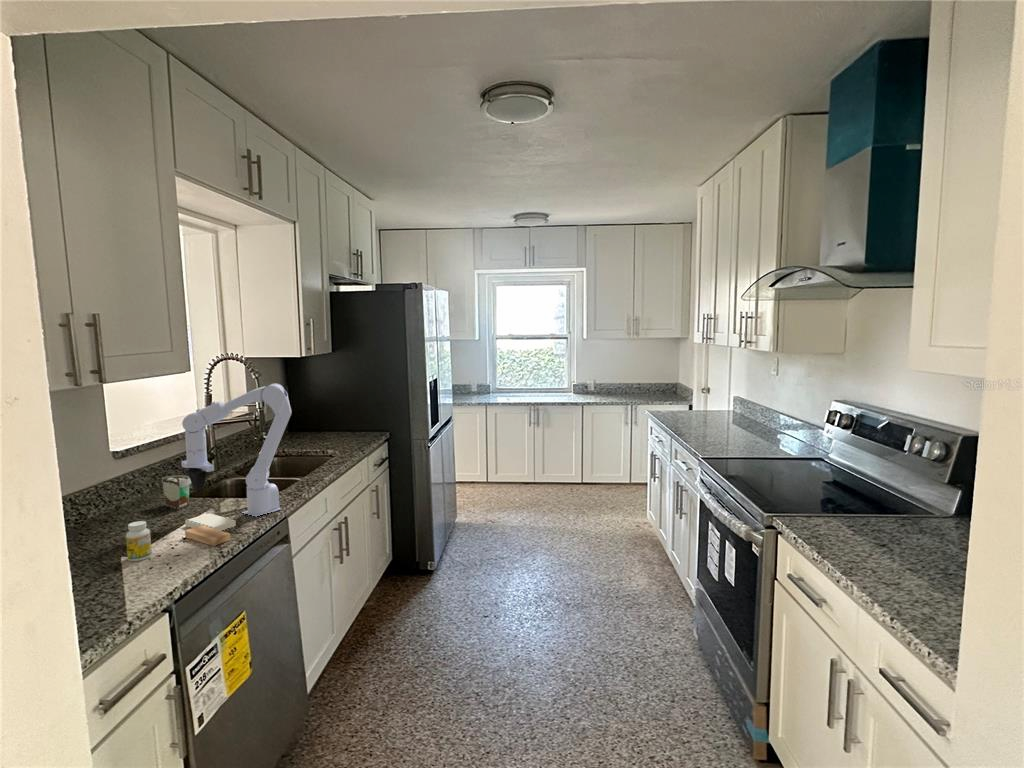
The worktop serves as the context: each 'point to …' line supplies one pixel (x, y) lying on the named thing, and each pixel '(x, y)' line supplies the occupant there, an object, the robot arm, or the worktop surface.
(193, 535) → the tan flat block
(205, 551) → the worktop surface
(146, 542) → the supplement bottle
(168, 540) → the worktop surface
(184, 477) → the food container
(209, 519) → the board
